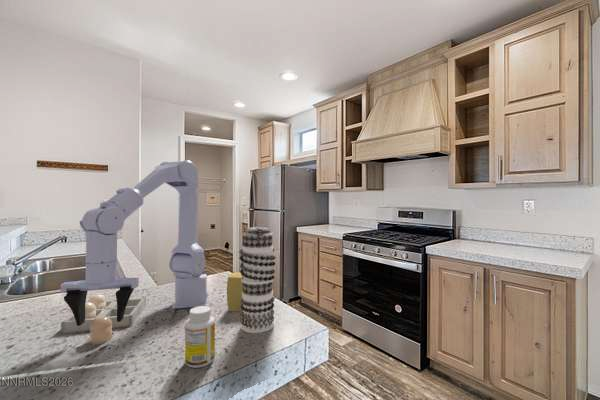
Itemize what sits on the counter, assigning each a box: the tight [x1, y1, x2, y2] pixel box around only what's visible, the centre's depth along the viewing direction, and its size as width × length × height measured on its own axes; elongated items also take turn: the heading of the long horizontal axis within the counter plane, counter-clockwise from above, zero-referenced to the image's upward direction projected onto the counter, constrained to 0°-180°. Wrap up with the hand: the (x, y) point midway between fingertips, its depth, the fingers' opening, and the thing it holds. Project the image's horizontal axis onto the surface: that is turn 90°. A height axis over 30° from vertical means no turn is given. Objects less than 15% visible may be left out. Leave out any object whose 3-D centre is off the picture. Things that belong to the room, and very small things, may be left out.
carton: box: [60, 297, 147, 334], centre depth 74 cm, size 15×14×3 cm
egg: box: [89, 316, 113, 345], centre depth 62 cm, size 4×4×6 cm
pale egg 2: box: [88, 293, 107, 309], centre depth 76 cm, size 4×4×6 cm
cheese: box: [226, 271, 243, 312], centre depth 85 cm, size 10×11×10 cm
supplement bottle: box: [184, 305, 216, 369], centre depth 55 cm, size 6×6×10 cm
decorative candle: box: [239, 226, 276, 334], centre depth 71 cm, size 9×9×25 cm
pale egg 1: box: [85, 301, 96, 319], centre depth 70 cm, size 4×4×6 cm
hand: (100, 321), depth 62 cm, fingers open, 7 cm apart
